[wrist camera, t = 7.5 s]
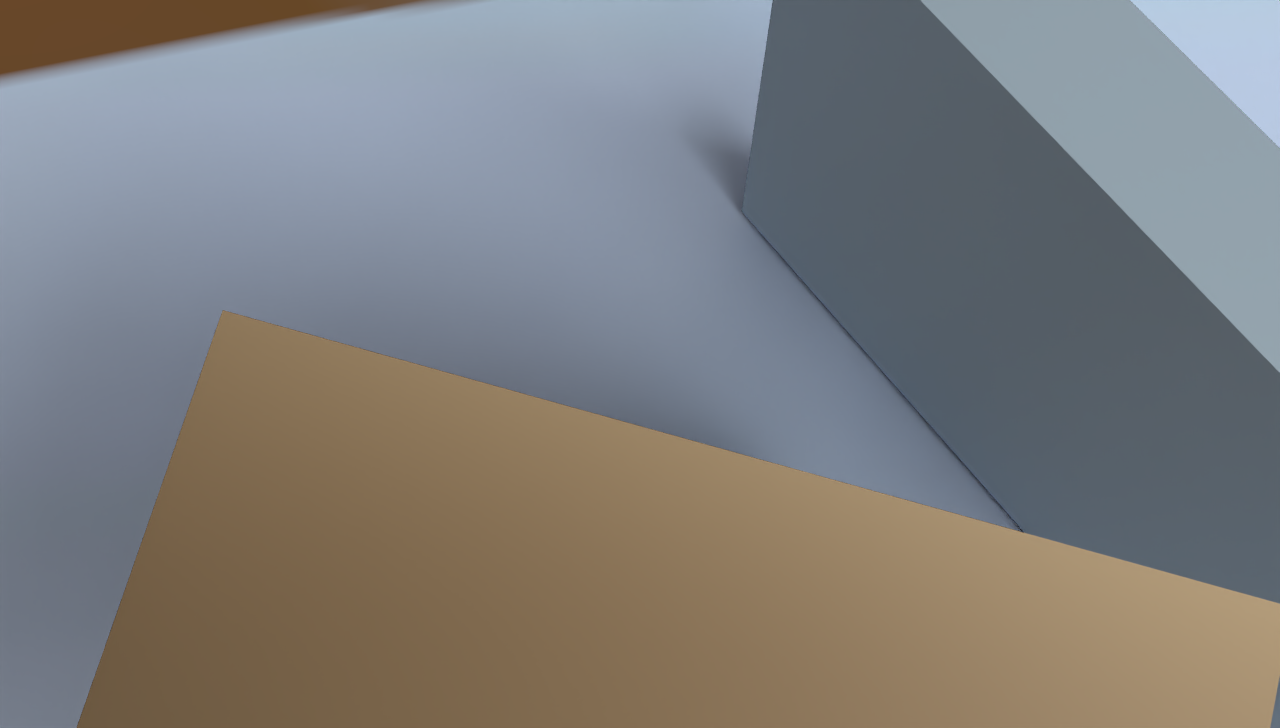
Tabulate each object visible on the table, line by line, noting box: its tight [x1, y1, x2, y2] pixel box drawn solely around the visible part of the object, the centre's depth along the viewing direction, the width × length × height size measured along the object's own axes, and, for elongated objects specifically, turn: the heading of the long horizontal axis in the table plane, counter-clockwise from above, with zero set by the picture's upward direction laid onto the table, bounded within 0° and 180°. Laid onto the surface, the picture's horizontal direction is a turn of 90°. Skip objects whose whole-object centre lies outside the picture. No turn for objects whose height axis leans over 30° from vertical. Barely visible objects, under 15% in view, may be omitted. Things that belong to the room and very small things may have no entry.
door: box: [742, 0, 1280, 728], centre depth 11 cm, size 1×13×9 cm, turn 39°
